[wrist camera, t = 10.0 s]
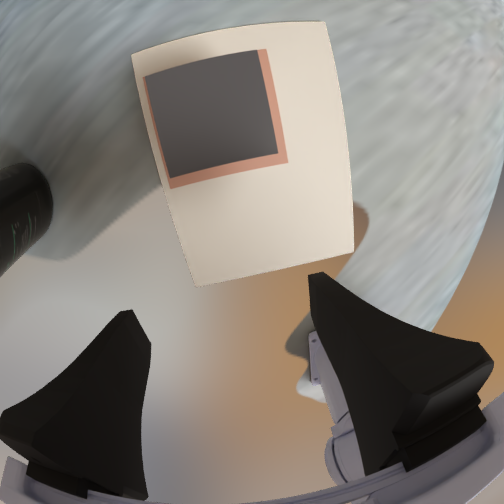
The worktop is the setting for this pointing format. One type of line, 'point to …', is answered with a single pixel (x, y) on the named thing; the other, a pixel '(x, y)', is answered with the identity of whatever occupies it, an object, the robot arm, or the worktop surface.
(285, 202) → the paper sheet
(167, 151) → the grey rectangular block
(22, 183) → the supplement bottle
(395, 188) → the worktop surface
